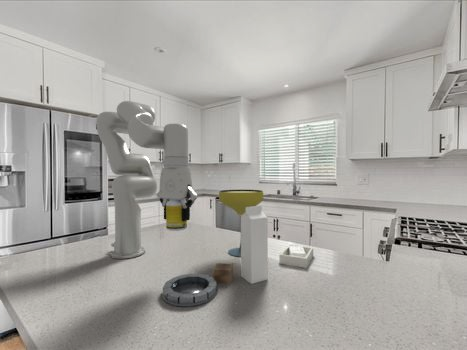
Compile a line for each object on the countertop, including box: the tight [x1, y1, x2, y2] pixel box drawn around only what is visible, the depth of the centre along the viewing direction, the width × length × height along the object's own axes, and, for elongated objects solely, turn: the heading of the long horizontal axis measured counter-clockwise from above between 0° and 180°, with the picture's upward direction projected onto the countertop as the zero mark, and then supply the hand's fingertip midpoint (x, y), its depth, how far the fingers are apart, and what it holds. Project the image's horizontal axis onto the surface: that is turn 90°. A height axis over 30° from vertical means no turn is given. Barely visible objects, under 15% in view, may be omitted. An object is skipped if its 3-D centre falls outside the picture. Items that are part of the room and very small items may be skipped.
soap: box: [289, 245, 306, 258], centre depth 90 cm, size 9×6×3 cm, turn 171°
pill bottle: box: [165, 199, 188, 232], centre depth 77 cm, size 6×6×12 cm
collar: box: [161, 273, 218, 308], centre depth 65 cm, size 15×15×2 cm
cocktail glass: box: [218, 189, 265, 258], centre depth 98 cm, size 18×18×25 cm
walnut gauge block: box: [213, 262, 234, 284], centre depth 73 cm, size 5×5×4 cm
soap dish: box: [279, 244, 314, 269], centre depth 90 cm, size 9×13×3 cm
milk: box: [240, 205, 269, 285], centre depth 74 cm, size 6×6×22 cm
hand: (176, 219), depth 77 cm, fingers closed on pill bottle, 6 cm apart
